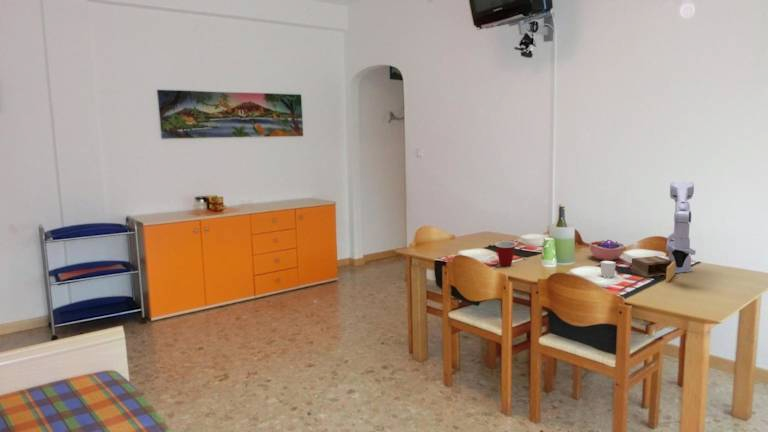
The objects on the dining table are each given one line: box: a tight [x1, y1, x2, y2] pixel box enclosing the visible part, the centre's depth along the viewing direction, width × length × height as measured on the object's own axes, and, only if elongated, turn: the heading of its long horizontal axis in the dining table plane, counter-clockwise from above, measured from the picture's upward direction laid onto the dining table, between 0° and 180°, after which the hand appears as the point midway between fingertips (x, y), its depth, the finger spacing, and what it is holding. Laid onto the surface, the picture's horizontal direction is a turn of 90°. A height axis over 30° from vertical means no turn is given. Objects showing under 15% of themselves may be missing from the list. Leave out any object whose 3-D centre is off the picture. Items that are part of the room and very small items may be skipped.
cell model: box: [588, 239, 626, 261], centre depth 290 cm, size 17×20×11 cm
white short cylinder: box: [600, 260, 617, 278], centre depth 258 cm, size 7×7×7 cm
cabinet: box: [630, 255, 671, 278], centre depth 261 cm, size 14×10×7 cm
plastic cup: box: [495, 240, 517, 268], centre depth 282 cm, size 11×11×12 cm
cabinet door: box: [665, 261, 676, 283], centre depth 251 cm, size 15×1×7 cm, turn 141°
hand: (679, 267), depth 242 cm, fingers closed
